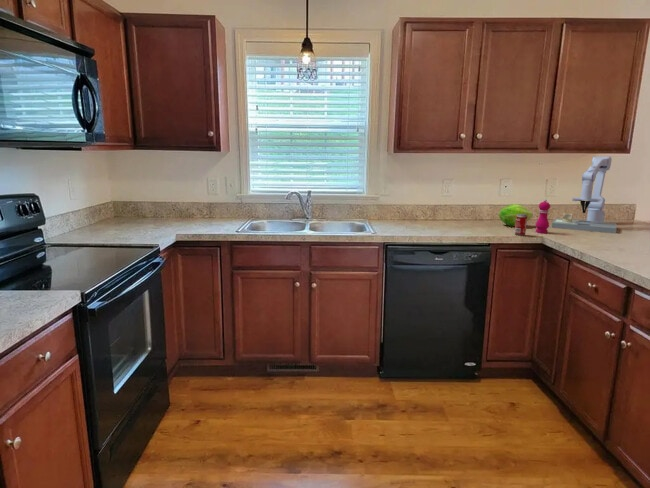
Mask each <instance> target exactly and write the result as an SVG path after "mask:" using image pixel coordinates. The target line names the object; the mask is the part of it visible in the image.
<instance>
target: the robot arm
mask: <svg viewBox="0 0 650 488" xmlns="http://www.w3.org/2000/svg"><path fill="white" fill-rule="evenodd" d="M611 165H612V157H611V156H593V157H592V160H591V166H589V167H588V169H587V170H586V171H584V172H583V173H582V175H581V183H582V184H581V185H582V186H581V192H580V193H581V194H580V197H572V199H571V200H572V202H579V203H580V205H581V209H582V214H586V211H587V215H586V221H596V222H605V216H606V215H605V214H606V212H605V211H604V208H605V205H606V204H605V202H606V199H605V198H604V197H603V195H602V192H603V187H604V183H605V177H606V173H607V171H610V168H611Z"/></svg>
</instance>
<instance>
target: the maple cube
mask: <svg viewBox="0 0 650 488" xmlns="http://www.w3.org/2000/svg"><path fill="white" fill-rule="evenodd" d="M573 214H574V213H567V212H566V213H565V212H564V213H563V214H562V219H563V220H562V222H570V223H571V222H572V220H573Z"/></svg>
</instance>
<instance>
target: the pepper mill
mask: <svg viewBox="0 0 650 488" xmlns="http://www.w3.org/2000/svg"><path fill="white" fill-rule="evenodd" d="M538 208H539V211H538V213H539V217H538V218H537V221H536V222H535V228H536V229H535V233H536V232H537V234H548V228H549V227H550V222H549V219H548V214H549V209H551V204H550V203H549V202H548V201H547V199H543V201H542V202H540V203H539V204H538Z"/></svg>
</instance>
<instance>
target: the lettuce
mask: <svg viewBox="0 0 650 488" xmlns="http://www.w3.org/2000/svg"><path fill="white" fill-rule="evenodd" d="M517 214H525V215H526V216H527V222H529V220H531V219H532V218H533V217H534V213H533V212H532V211H531V210H529V209H527V208H526V207H525V206H523V205H520V204H517V203H513V204H510V205H507V206H505V207H502V209H501V210H500V211H499V214H498V217H499V219H500V221H502V223H504V224H505V225H507V226H508V227H515V223H516V216H517Z"/></svg>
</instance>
